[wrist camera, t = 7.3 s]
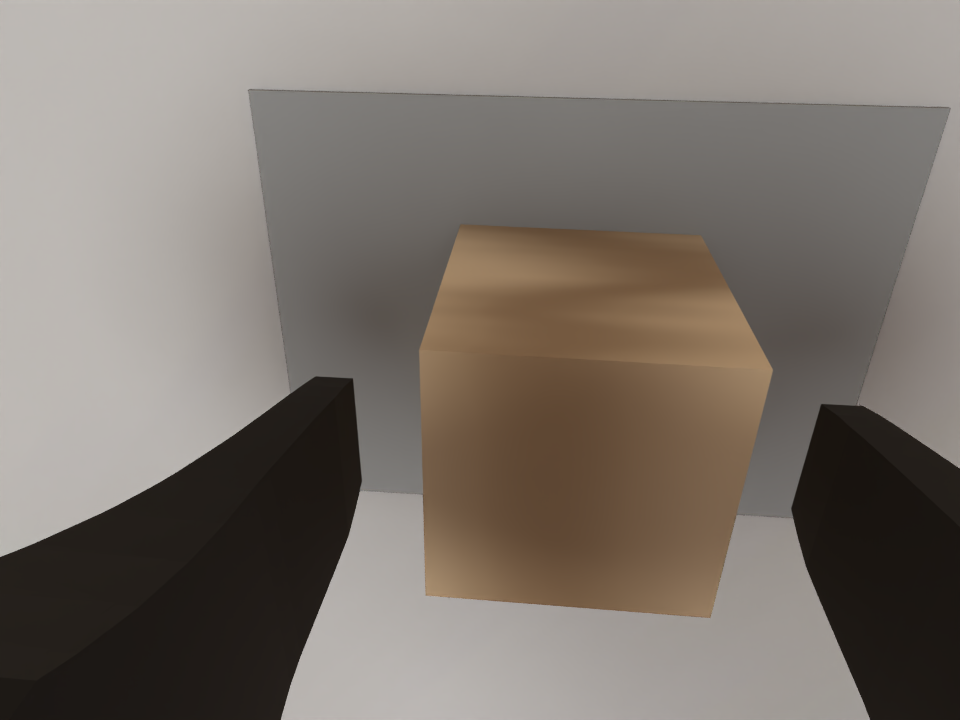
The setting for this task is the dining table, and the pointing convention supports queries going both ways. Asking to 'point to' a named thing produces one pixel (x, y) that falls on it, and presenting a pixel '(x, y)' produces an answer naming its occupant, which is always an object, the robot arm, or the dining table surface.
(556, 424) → the oak block
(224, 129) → the dining table surface
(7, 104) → the dining table surface
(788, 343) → the pad
